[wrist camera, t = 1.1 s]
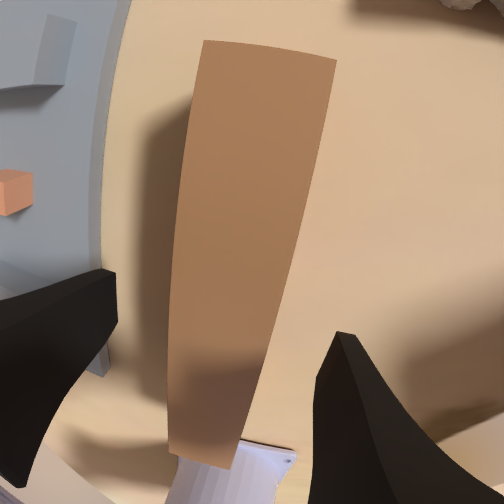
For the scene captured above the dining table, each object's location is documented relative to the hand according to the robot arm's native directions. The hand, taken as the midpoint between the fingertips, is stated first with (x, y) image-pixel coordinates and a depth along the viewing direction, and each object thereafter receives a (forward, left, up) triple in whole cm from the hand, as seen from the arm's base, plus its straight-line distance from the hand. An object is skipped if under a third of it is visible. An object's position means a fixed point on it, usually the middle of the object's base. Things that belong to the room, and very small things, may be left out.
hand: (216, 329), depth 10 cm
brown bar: (0, 0, -4) cm, 4 cm away
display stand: (+2, +12, -4) cm, 13 cm away
